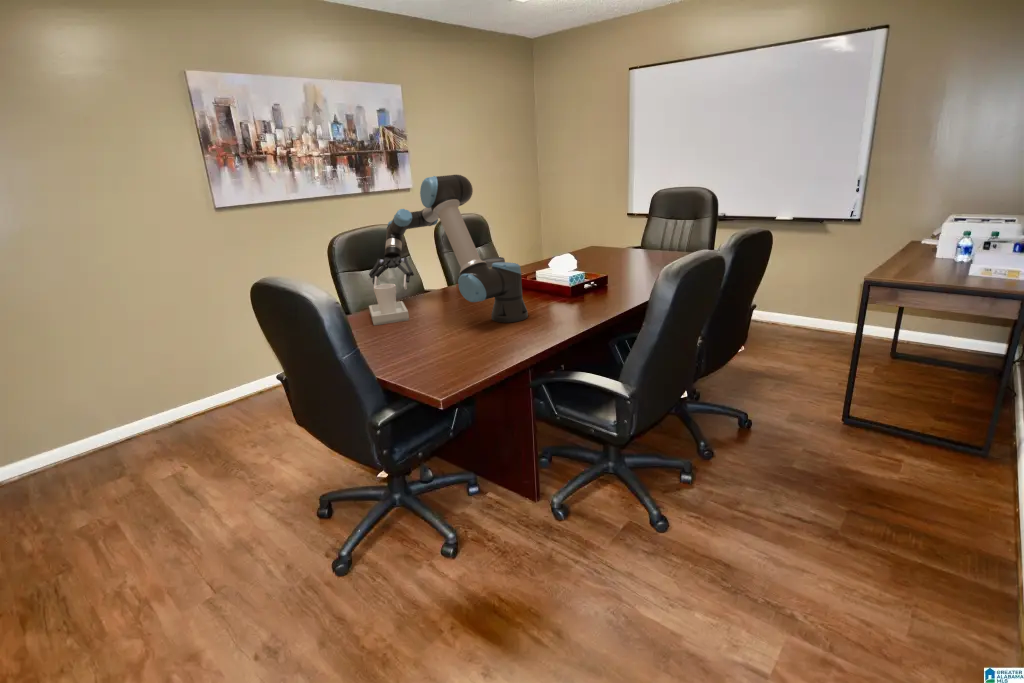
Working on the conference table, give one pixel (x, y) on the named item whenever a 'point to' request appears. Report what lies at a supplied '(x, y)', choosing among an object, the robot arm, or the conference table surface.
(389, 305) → the foam cup
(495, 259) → the reusable coffee cup
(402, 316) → the grey tray
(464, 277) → the robot arm
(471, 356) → the conference table surface
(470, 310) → the conference table surface
